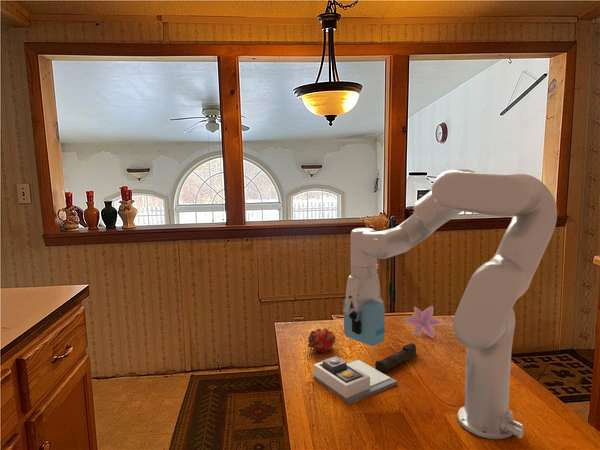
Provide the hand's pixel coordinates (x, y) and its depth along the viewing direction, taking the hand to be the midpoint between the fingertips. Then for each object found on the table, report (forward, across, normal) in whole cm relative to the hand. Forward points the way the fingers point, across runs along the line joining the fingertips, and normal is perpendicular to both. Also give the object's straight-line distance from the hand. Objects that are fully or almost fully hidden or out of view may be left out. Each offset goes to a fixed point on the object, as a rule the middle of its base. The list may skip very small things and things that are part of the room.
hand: (363, 330), depth 120 cm
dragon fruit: (+15, 0, -22) cm, 26 cm away
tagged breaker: (+13, +9, +3) cm, 16 cm away
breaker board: (+14, +4, +1) cm, 15 cm away
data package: (+3, 0, 0) cm, 3 cm away
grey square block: (+11, +9, -3) cm, 15 cm away
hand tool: (+15, -14, 0) cm, 21 cm away
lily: (+15, -40, -12) cm, 44 cm away
